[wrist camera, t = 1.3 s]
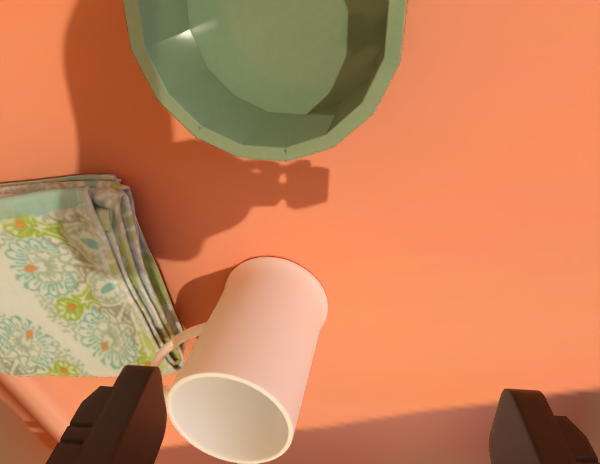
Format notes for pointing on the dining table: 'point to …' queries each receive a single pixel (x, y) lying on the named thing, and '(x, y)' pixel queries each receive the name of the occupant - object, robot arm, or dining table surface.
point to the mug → (248, 363)
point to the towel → (79, 281)
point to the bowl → (268, 68)
